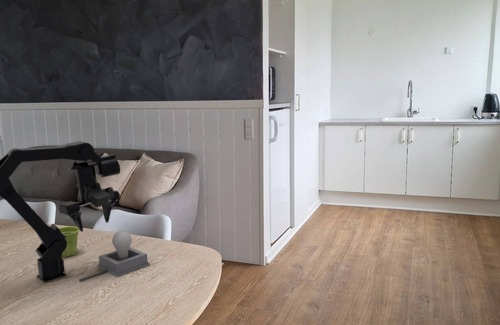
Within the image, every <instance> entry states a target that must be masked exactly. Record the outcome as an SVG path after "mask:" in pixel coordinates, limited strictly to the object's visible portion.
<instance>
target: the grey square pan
mask: <svg viewBox="0 0 500 325" xmlns="http://www.w3.org/2000/svg"><path fill="white" fill-rule="evenodd" d="M150 265H151V263H150V262H149V261H148V254H147V253H145V252H142V251H141V250H138V249H135V248H133V247H131V246H130V247H129V250H128V256H127V259H125V260H122V261H120V262H119V257H118V253H117V250H116V249H115V250H114V251H113V250H112V251H111V252H107V253H104V254H101V255H98V264H97V268H99V269H100V270H101V271H99V272H96V273H92V274H90V275H87V276H84V277H82V278H78V282H80V283H81V282H85V281H87V280H89V279H93V278H95V277H98V276H101V275H103V274H107V273H108V274H109V275H112V276H114V277H116V278H119V277H121V276H124V275H126V274H130V273H133V272H134V271H138V270H140V269H143V268H146V267H148V266H150Z"/></svg>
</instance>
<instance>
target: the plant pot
mask: <svg viewBox="0 0 500 325" xmlns="http://www.w3.org/2000/svg"><path fill="white" fill-rule="evenodd" d="M58 228H59V230H60V231H61V232H62V233H63V234H64V235H65V236H66V238H65V239H66V241H67V247H66V249H65V250H64V251H63V253H62V258H68V257H69V256H74V255H76V254H77V249H78V235H79V232H80V230H79V229H78V227H77V226H63V227H58Z"/></svg>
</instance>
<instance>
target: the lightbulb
mask: <svg viewBox="0 0 500 325" xmlns="http://www.w3.org/2000/svg"><path fill="white" fill-rule="evenodd" d="M111 240H112V241H111V243H112V245H113V247H114V249H115V251H116V250H117V253H118V257H119V262H120V261H122V260H125V259H127V256H128V250H129V247H131V244H132V242H133V238H132V235H131V234H130V233H129V232H128V231H125V230H120V231H117V232H116V233H114V234H113V237H112V239H111Z"/></svg>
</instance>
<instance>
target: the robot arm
mask: <svg viewBox="0 0 500 325" xmlns="http://www.w3.org/2000/svg"><path fill="white" fill-rule="evenodd" d="M50 160H52V161H53V160H72V162H71V163H70V165H68V167H67V169H69V170H72V171H74V170H75V173H76V180H77V184H75V186H76V188H77V189H78V192H79V196H78V198H77V199H78V200H79V201H77V202H76V201H72V200H69V201H67V202H63V203H60V204H59V206H58V212H59V213H60V214H63V215H65V216H69V217H70V219H71V220H72V221H73V223H74V224H75V227H78V229H79V232H82V233H83V231H84V229H83V228H84V227H83V222H82V217H81V216H82V212H81V211H80V210H81V208H85V207H87V206H90V205H93V206H94V207H95V208H100V207H101V209H102V213H103V214H102V215H103V217H104V221H105V223H109V221H110V216H111V213H112V212H111V211H112V209H113V206H115V204H117V203H118V200H121V193H120V192H119V191H118V190H114V188H113V187H112V186H109V187H106V188H102V186H101V184H100V182H98V180H97V176H100V178H106V177H111V176H115V175H116V176H117V175H120V173H121V165H120V164H119V161H118V158H117V156H116V154H114V153H113V154H108V155H103V156H100V155H99V154H98V153H97V152H95V149H94V147H93V145H92V144H91V143H89V142H85V141H81V140H77V141H73V142H70V143H66V144H62V145H59V146H57V145H56V146H43V147H40V146H39V147H27V148H17V147H14V148H11V149H10V150H9V151H8V152H7V153H6V154H5V155H4V156H3V157H2V158H0V197H1V198H2V199H4V201H6V202H7V203H8V204H9V205H10V207H12V209H14V210H15V211H16V213H17V214H18V215H19V216H20V217H21V218H22V219H23V220H24V221H25V222H26V223H27V224H28V225H29V226H30V227H31V228H32V230H34V232H35V233H36V235H37V237H38V238H39V240H40V242H41V243H40V244H39V245H38V246H37V247H36V249H35V252H36V254H37V256H39V258H37V259H36V260H37V271H38V272H37V273H38V274H37V275H36V277H37V278H38V279H39V280H41V281H42V282H44V283H48V282H51V281H54V280H57V279H59V278H63V277H65V276H66V275H67V274H66V273H65V271H66V270H65V260H64V259H63V257H62V253H63V251H64V250H65V249H66V247H67V241H66V239H65V238H66V236H65V235H64V234H63V233H62V232H61V231H60V230H59V228H60V227H58V226H57V225H56V224H55V223H52V224H51V225H49V224H47V223H46V222H45V221H44V219H43V218H41V216H40V215H38V214H37V212H36V211H35V210H34V209H33V208H32V207H31V206H30V205H29V204H28V202H27V201H25V200H24V199H23V197H22V196H21V195H20V194H19V193H18V192H17V190H16V188H15V187H14V185H13V183H12V182H11V180H10V177H11V176H12V175H13V174H14V172H15V171H16V169H17V168H18V167H19V165H21V163H26V162H27V163H29V162H38V161H50ZM76 161H80V162H76ZM88 161H90V162H89V163H88Z"/></svg>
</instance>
